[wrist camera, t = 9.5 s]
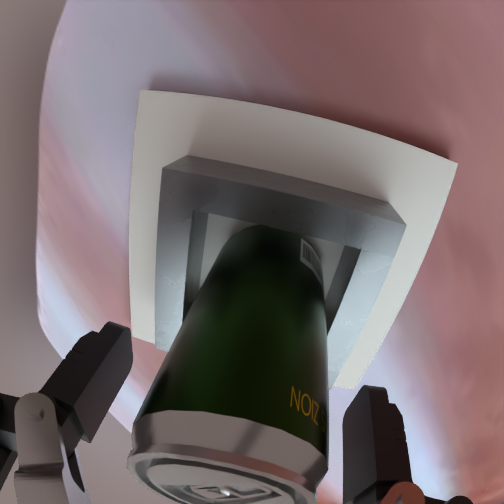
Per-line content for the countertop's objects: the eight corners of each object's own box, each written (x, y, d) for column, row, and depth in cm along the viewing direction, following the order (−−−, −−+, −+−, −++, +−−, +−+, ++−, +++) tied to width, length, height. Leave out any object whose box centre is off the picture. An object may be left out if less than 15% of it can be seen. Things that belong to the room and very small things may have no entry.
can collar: (186, 154, 15) (162, 167, 12) (389, 202, 14) (406, 225, 12) (172, 316, 19) (155, 347, 17) (328, 353, 19) (330, 389, 16)
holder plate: (148, 89, 15) (140, 89, 14) (449, 159, 14) (458, 163, 13) (138, 327, 22) (132, 336, 21) (353, 379, 21) (354, 389, 20)
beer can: (275, 196, 15) (208, 425, 5) (342, 274, 16) (365, 506, 6) (200, 258, 17) (88, 456, 7) (265, 323, 19) (223, 525, 8)
